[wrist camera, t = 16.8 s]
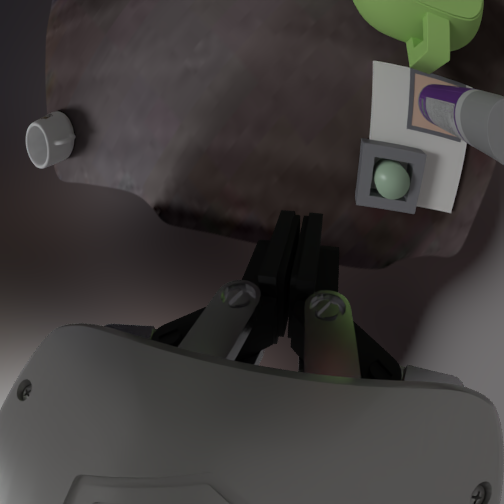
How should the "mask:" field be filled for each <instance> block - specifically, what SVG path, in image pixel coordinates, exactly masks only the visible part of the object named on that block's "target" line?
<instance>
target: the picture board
mask: <svg viewBox="0 0 504 504" xmlns="http://www.w3.org/2000/svg"><path fill="white" fill-rule="evenodd" d="M430 84H440V85H449V86H458V87H465V88H471V89H473V88H472V87H470V86H467V85H465V84H462V83H459V82H457V81H454V80H451V79H448V78H445V77H442V76H438V75H435V74H432V73H431V74H427V73H424V72H421V71H419V70H416V69H413V68H408V67H404V66H399V65H395V64H390V63H384V62H379V61H373V86H372V109H371V124H370V137H369V139H363V138H361V148H360V159H359V168H358V177H357V185H356V192H355V200H356V205H361V206H368V207H375V208H381V209H387V210H394V211H400V212H405V213H411V214H415V210H416V206H419V207H424V208H429V209H434V210H439V211H444V212H449V213H451V211H452V207H453V204H454V200H455V196H456V192H457V188H458V184H459V180H460V176H461V171H462V167H463V162H464V156H465V151H466V145H467V143H466V142H465V141H463V140H461V139H459V138H458V137H456V136H454V135H453V134H451V133H449V132H447V131H445V130H443V129H442V128H440V127H438V126H436V125H434V124H432V123H430V122H429V121H427V120H426V119H425V118H424V117H423V115H422V114H421V112H420V110H419V107H418V96H419V93H420V91H421V90H422V89H423V88H424V87H425V86H427V85H430ZM381 158H385V159H391V160H396V161H399V162H400V163H401V165H402V166H403V168H404V169H405V170H406V172H407V173H408V175H409V178H410V186H409V189H408V191H407V193H406V194H405V195H404V196H403V197H401V198H399V199H387V198H385V197H383V196H382V195H381V194H380V193H379V192H378V190H377V188H376V185H375V182H374V179H373V176H372V174H373V167H374V165H375V163H376V162H377V161H378V160H380V159H381Z"/></svg>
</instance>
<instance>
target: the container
mask: <svg viewBox="0 0 504 504" xmlns="http://www.w3.org/2000/svg"><path fill="white" fill-rule="evenodd" d="M418 107H419V110H420V112H421V114H422V115H423V117H424V118H425V119H426V120H427V121H429V122H430V123H432V124H434V125H436V126H438V127H440V128H442V129H443V130H445V131H447V132H449V133H451V134H453V135H454V136H456V137H458V138H459V139H461V140H463V141H465V142H466V143H468V144H469V145H471V146H473V147H475V148H477V149H478V150H480V151H482V152H483V153H485V154H487V155H488V156H490V157H492V158H493V159H495V160H497V161H498V162H500V163H501V164H503V165H504V96H500V95H497V94H493V93H489V92H485V91H481V90H477V89H471V88H465V87H458V86H449V85H440V84H430V85H427V86H425V87H424V88H423V89H422V90H421V91H420V93H419V96H418Z"/></svg>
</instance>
